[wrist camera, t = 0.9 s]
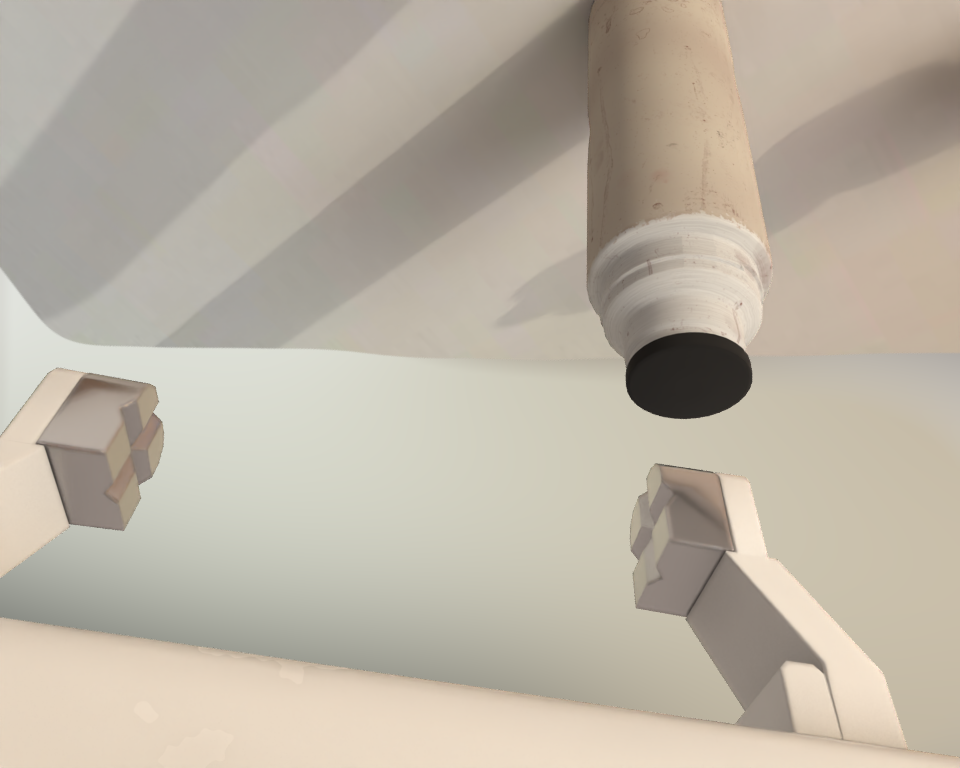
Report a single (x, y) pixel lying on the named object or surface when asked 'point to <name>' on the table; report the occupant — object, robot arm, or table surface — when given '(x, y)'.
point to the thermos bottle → (672, 205)
